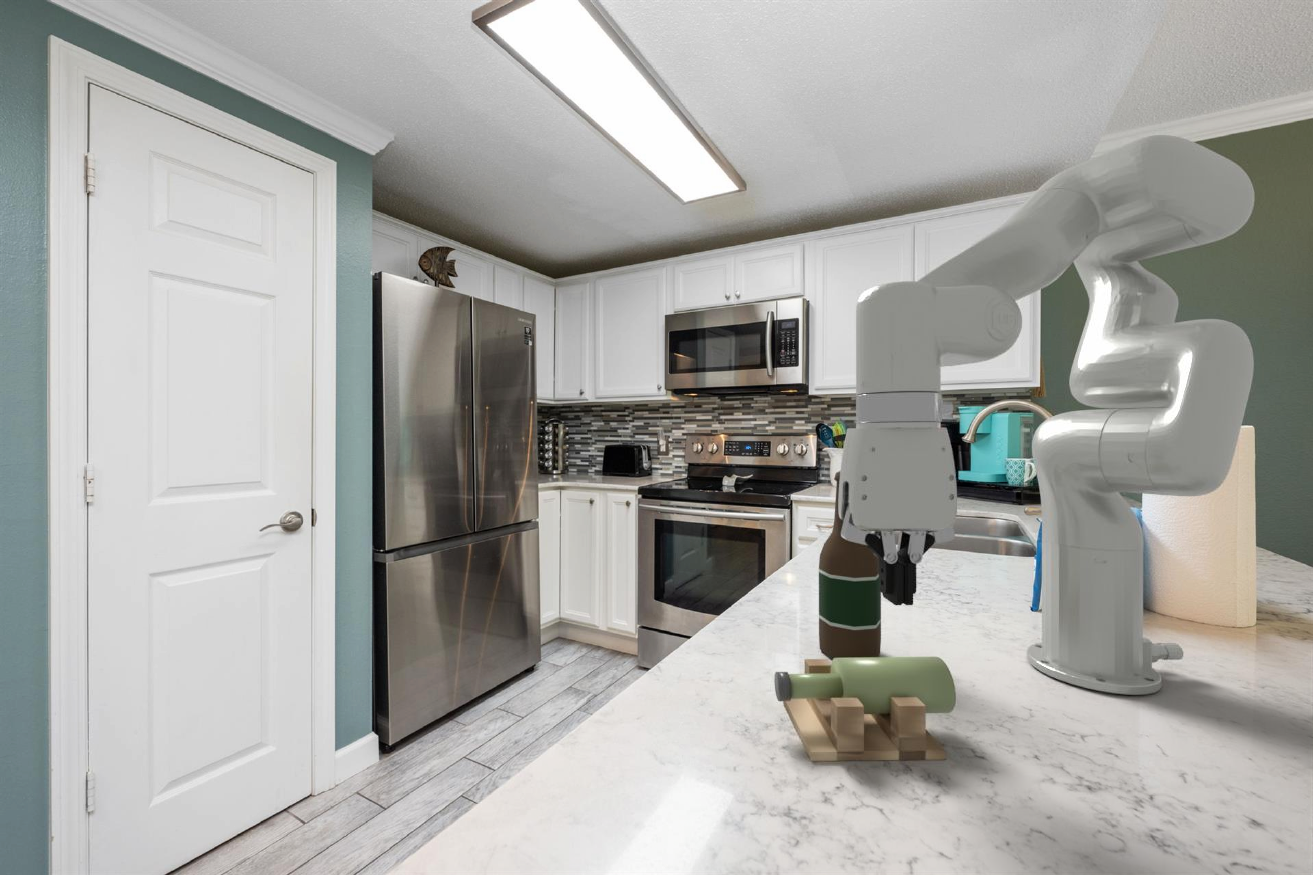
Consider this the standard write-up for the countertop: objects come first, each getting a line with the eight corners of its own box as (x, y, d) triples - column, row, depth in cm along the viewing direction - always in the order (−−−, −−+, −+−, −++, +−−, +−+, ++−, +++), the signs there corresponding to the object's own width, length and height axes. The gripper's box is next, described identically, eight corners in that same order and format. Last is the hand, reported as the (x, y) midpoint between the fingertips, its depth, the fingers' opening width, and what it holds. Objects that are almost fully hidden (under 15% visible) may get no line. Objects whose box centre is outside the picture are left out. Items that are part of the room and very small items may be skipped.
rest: (894, 702, 58) (894, 658, 57) (945, 759, 48) (945, 705, 47) (783, 703, 57) (783, 659, 57) (811, 760, 47) (811, 706, 47)
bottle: (929, 646, 54) (772, 648, 54) (957, 675, 49) (785, 677, 49) (925, 692, 55) (771, 694, 55) (953, 724, 50) (783, 727, 50)
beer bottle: (887, 668, 66) (887, 474, 66) (821, 663, 67) (821, 473, 67) (875, 644, 74) (874, 469, 73) (816, 640, 75) (815, 469, 75)
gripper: (951, 414, 56) (951, 589, 56) (809, 415, 56) (809, 590, 56) (997, 411, 49) (997, 613, 49) (834, 412, 48) (834, 614, 49)
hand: (897, 600), depth 52 cm, fingers closed
